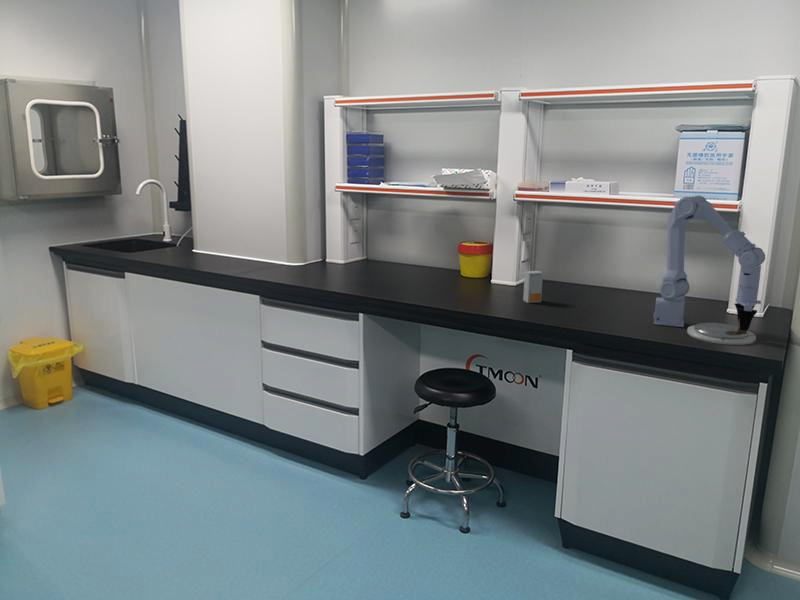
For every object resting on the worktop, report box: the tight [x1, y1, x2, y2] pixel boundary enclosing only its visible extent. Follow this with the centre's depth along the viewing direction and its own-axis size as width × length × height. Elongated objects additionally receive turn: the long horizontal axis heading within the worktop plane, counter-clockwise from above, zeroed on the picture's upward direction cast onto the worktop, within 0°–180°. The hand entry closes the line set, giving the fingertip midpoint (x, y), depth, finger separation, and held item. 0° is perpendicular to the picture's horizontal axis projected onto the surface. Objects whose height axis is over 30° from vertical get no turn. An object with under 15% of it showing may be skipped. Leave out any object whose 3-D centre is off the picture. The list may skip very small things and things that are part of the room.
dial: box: [694, 322, 749, 339], centre depth 208 cm, size 16×16×6 cm
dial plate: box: [686, 324, 757, 346], centre depth 209 cm, size 20×20×1 cm
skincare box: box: [522, 270, 544, 304], centre depth 254 cm, size 6×4×12 cm
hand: (742, 328), depth 206 cm, fingers open, 5 cm apart
